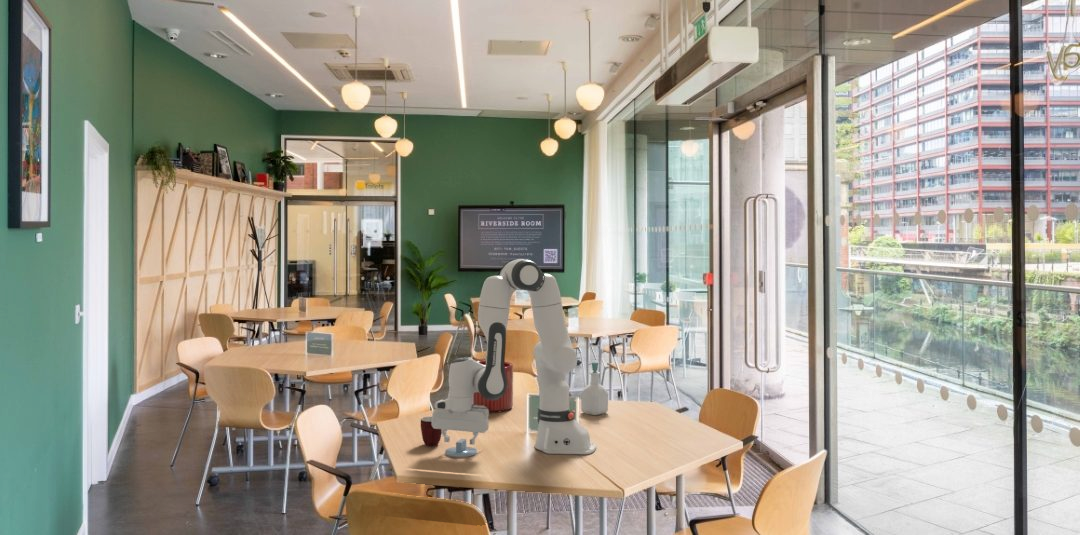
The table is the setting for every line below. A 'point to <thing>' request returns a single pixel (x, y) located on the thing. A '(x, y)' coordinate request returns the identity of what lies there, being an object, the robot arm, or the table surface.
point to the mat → (462, 458)
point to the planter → (505, 400)
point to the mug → (430, 432)
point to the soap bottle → (594, 395)
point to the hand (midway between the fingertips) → (459, 443)
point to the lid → (461, 450)
